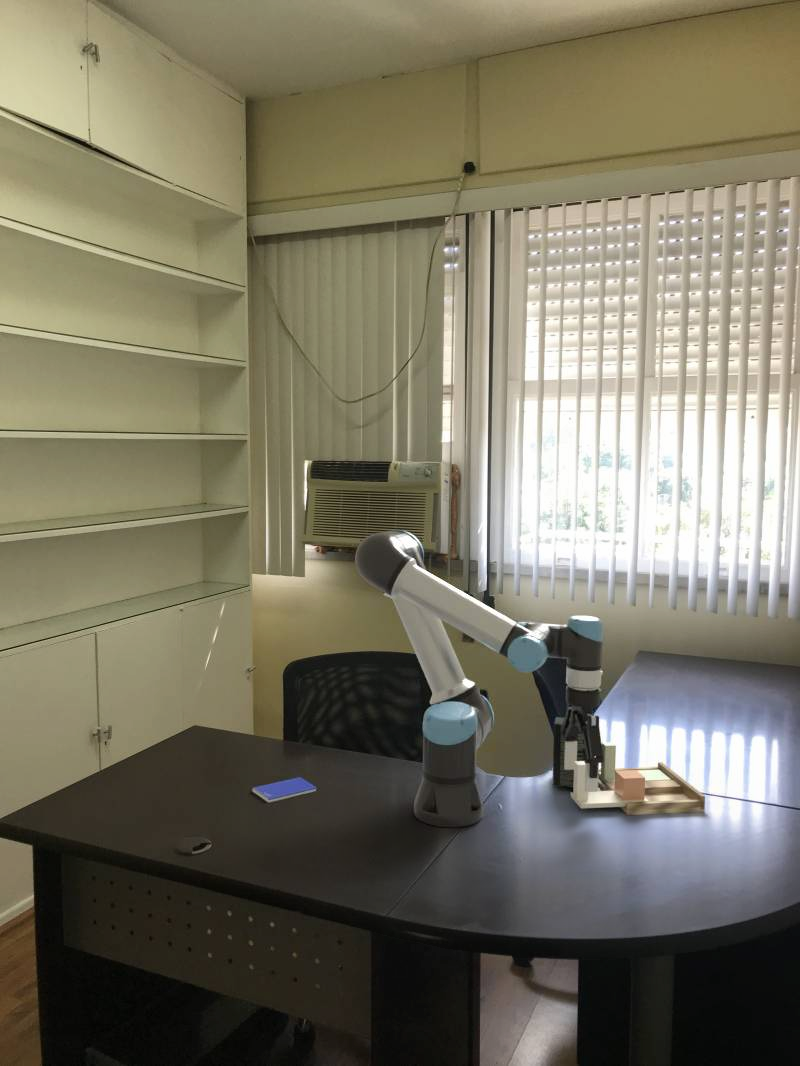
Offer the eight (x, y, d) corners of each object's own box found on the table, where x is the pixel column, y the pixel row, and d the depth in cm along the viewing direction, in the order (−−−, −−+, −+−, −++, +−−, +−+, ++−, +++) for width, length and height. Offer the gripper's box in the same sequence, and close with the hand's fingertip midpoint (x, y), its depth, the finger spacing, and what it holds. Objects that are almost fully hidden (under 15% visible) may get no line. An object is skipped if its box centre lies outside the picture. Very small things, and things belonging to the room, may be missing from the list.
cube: (623, 800, 190) (623, 778, 190) (614, 792, 195) (615, 770, 195) (644, 799, 191) (645, 777, 191) (635, 791, 196) (636, 769, 195)
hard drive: (268, 798, 193) (316, 786, 200) (252, 787, 199) (299, 776, 206) (268, 805, 193) (316, 793, 200) (252, 793, 199) (299, 782, 207)
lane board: (627, 815, 188) (627, 799, 188) (591, 778, 210) (591, 764, 209) (704, 811, 190) (705, 796, 190) (661, 776, 212) (661, 762, 212)
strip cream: (580, 808, 188) (581, 768, 187) (569, 796, 195) (570, 758, 194) (648, 805, 190) (649, 765, 190) (636, 793, 197) (637, 755, 196)
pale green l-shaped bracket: (607, 786, 201) (608, 748, 201) (597, 775, 208) (598, 739, 207) (671, 783, 204) (672, 746, 203) (658, 773, 210) (660, 737, 210)
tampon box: (592, 789, 199) (594, 726, 200) (551, 786, 201) (553, 723, 202) (591, 779, 210) (593, 718, 210) (553, 775, 212) (555, 716, 212)
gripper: (621, 701, 178) (617, 800, 179) (580, 672, 202) (577, 760, 204) (586, 702, 177) (583, 802, 178) (549, 673, 201) (547, 761, 203)
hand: (580, 779), depth 191 cm, fingers open, 13 cm apart
